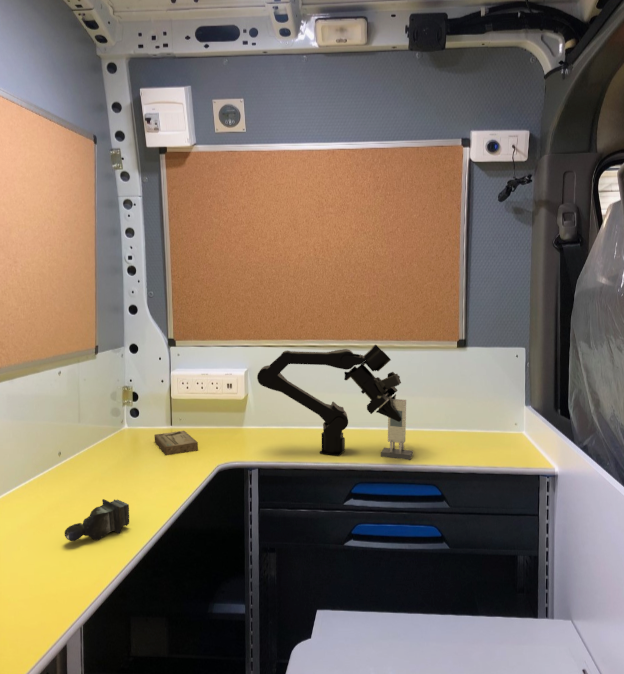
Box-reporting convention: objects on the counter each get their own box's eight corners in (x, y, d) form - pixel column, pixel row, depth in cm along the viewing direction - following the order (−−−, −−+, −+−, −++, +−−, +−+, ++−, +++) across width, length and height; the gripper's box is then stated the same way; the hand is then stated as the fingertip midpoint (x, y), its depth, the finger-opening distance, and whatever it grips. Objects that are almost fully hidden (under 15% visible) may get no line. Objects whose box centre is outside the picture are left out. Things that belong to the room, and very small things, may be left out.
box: (165, 456, 169) (165, 447, 168) (154, 442, 184) (153, 433, 184) (199, 451, 174) (198, 442, 173) (185, 438, 189) (184, 429, 189)
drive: (387, 441, 166) (388, 400, 165) (389, 439, 169) (390, 398, 168) (403, 443, 165) (404, 401, 163) (405, 441, 167) (406, 399, 166)
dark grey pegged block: (380, 456, 166) (380, 440, 166) (384, 452, 171) (384, 436, 170) (409, 459, 163) (410, 443, 163) (412, 455, 168) (412, 439, 167)
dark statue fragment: (60, 544, 110) (58, 515, 110) (114, 521, 121) (113, 494, 121) (78, 553, 107) (76, 522, 106) (132, 528, 118) (131, 500, 117)
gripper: (378, 368, 157) (415, 409, 154) (391, 360, 175) (425, 397, 172) (351, 393, 161) (387, 433, 158) (367, 383, 178) (400, 419, 175)
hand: (401, 419), depth 166 cm, fingers closed on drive, 2 cm apart
